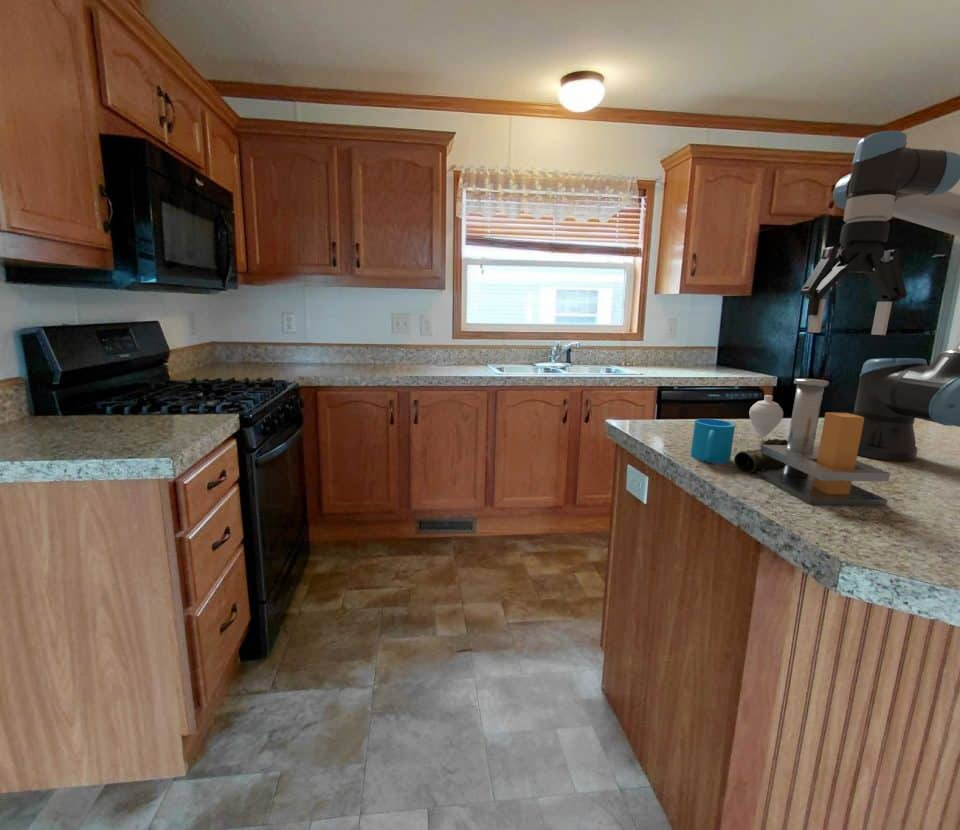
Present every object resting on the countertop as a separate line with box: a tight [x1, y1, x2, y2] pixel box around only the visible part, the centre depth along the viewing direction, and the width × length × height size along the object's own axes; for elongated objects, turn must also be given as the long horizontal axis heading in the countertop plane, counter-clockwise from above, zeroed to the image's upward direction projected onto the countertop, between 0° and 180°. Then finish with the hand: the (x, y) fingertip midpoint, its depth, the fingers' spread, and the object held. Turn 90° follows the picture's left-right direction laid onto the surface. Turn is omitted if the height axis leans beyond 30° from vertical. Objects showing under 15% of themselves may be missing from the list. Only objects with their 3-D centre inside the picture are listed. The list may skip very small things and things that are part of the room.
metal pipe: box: [733, 438, 788, 474], centre depth 109 cm, size 18×7×6 cm, turn 115°
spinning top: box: [748, 394, 784, 441], centre depth 131 cm, size 8×8×12 cm
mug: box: [690, 418, 736, 464], centre depth 112 cm, size 12×8×8 cm
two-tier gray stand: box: [754, 377, 891, 506], centre depth 94 cm, size 14×18×20 cm
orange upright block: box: [812, 411, 865, 494], centre depth 91 cm, size 4×4×14 cm
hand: (846, 333), depth 102 cm, fingers open, 13 cm apart
